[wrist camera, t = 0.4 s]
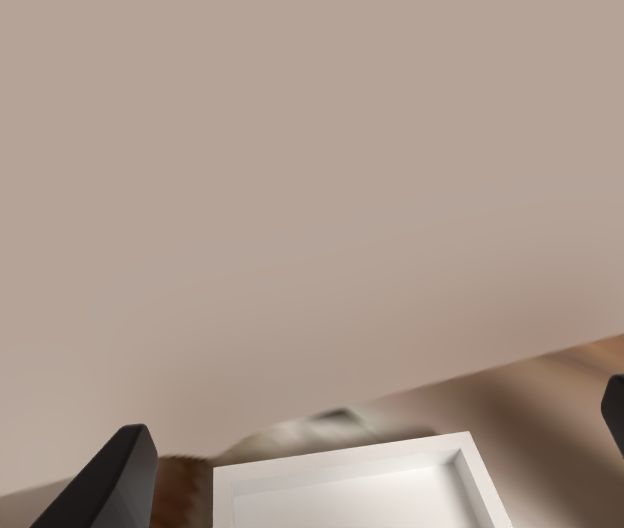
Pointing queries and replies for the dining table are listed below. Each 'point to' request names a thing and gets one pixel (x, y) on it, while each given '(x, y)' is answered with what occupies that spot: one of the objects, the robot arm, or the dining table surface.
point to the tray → (363, 488)
